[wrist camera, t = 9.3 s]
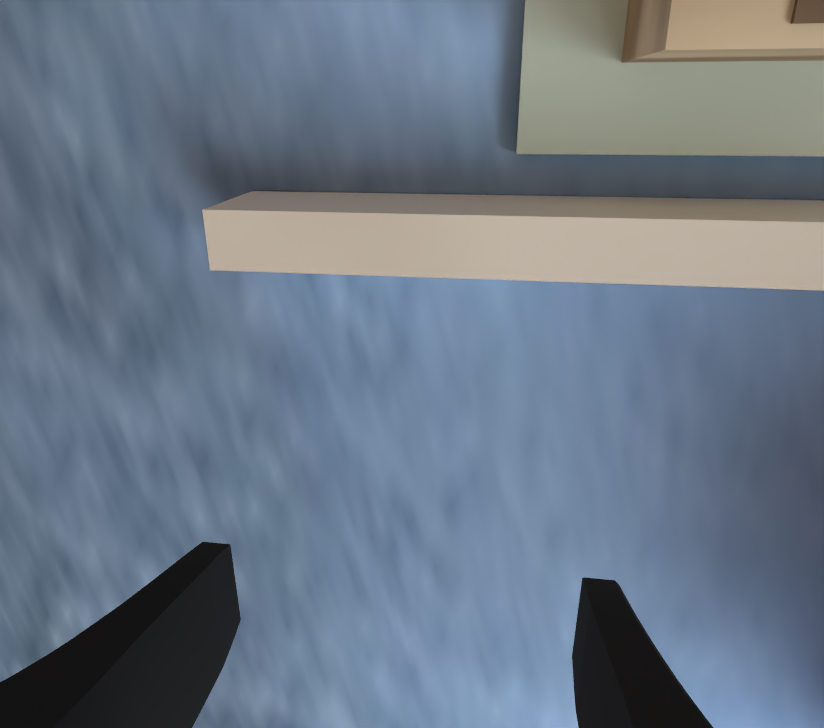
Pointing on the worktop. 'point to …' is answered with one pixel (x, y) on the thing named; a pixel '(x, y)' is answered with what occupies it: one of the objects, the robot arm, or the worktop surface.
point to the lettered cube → (723, 30)
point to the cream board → (523, 238)
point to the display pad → (654, 94)
